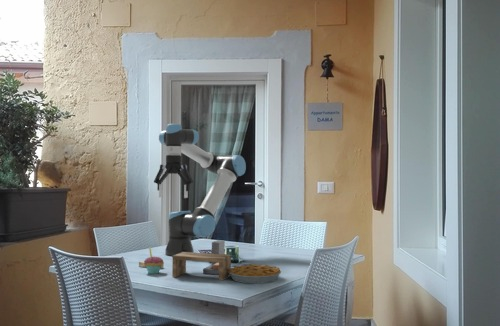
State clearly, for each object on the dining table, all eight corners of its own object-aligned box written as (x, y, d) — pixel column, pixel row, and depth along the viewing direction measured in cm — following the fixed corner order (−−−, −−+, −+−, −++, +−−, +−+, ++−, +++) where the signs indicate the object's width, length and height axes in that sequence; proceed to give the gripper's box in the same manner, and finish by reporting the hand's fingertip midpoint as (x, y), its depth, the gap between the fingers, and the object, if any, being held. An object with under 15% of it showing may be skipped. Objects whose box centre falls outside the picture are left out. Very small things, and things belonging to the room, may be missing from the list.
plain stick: (138, 267, 249) (139, 261, 249) (142, 266, 251) (142, 261, 251) (160, 269, 244) (160, 264, 244) (163, 268, 246) (163, 263, 246)
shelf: (182, 272, 236) (182, 251, 236) (230, 275, 230) (230, 254, 230) (172, 276, 226) (172, 255, 226) (222, 280, 219) (222, 258, 219)
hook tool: (217, 265, 254) (217, 240, 254) (234, 266, 251) (235, 241, 251) (201, 273, 234) (201, 246, 234) (220, 274, 231) (220, 247, 231)
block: (217, 271, 239) (217, 262, 240) (229, 272, 238) (229, 263, 238) (212, 274, 234) (212, 264, 234) (225, 274, 232) (225, 265, 232)
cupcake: (144, 275, 229) (144, 247, 229) (143, 271, 238) (143, 244, 238) (164, 274, 232) (164, 246, 232) (162, 270, 240) (162, 243, 240)
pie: (251, 271, 239) (251, 260, 239) (291, 278, 225) (291, 266, 225) (218, 279, 222) (218, 267, 222) (258, 287, 208) (259, 274, 208)
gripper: (147, 154, 264) (147, 197, 264) (194, 154, 257) (193, 198, 257) (154, 155, 271) (153, 196, 271) (199, 155, 264) (199, 197, 264)
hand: (173, 197), depth 264 cm, fingers open, 13 cm apart
